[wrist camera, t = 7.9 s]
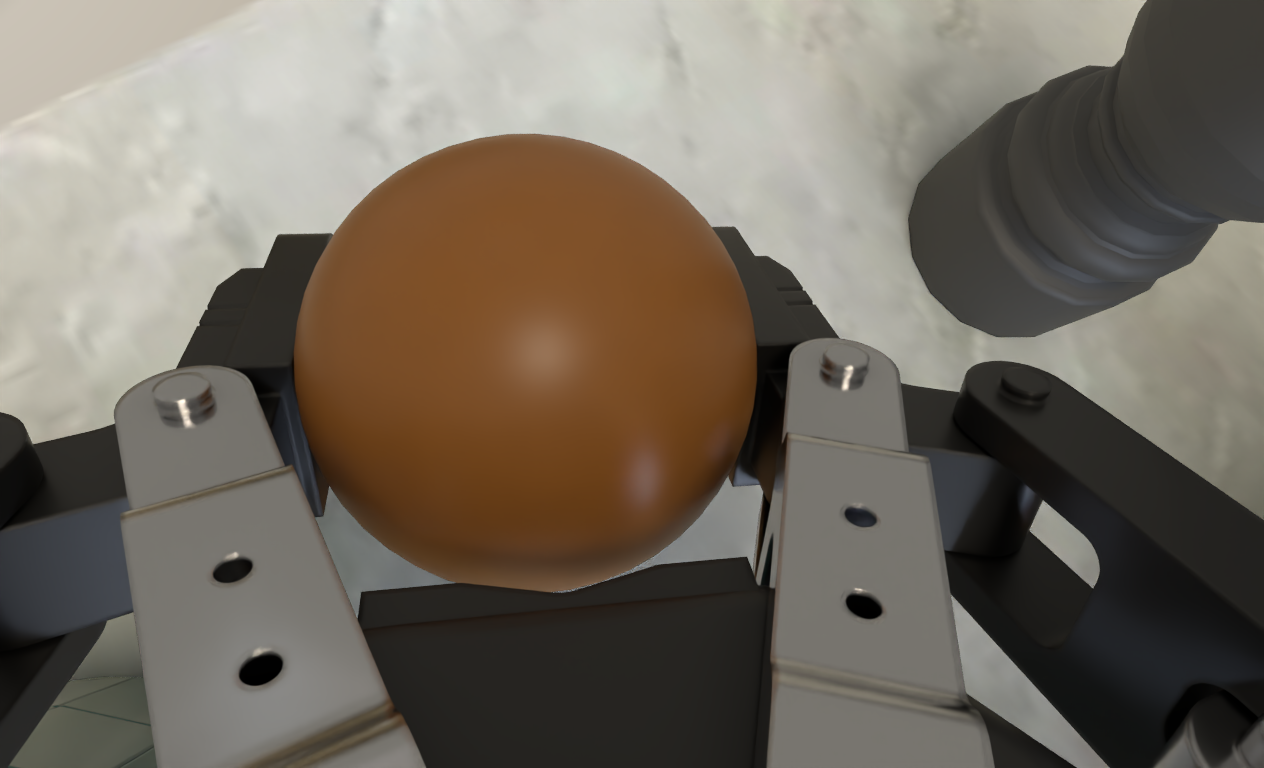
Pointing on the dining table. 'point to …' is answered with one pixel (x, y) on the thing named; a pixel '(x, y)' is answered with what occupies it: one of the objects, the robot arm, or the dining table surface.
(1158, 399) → the dining table surface
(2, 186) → the dining table surface
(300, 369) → the brown rounded cylinder
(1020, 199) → the candle holder
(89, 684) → the pot
